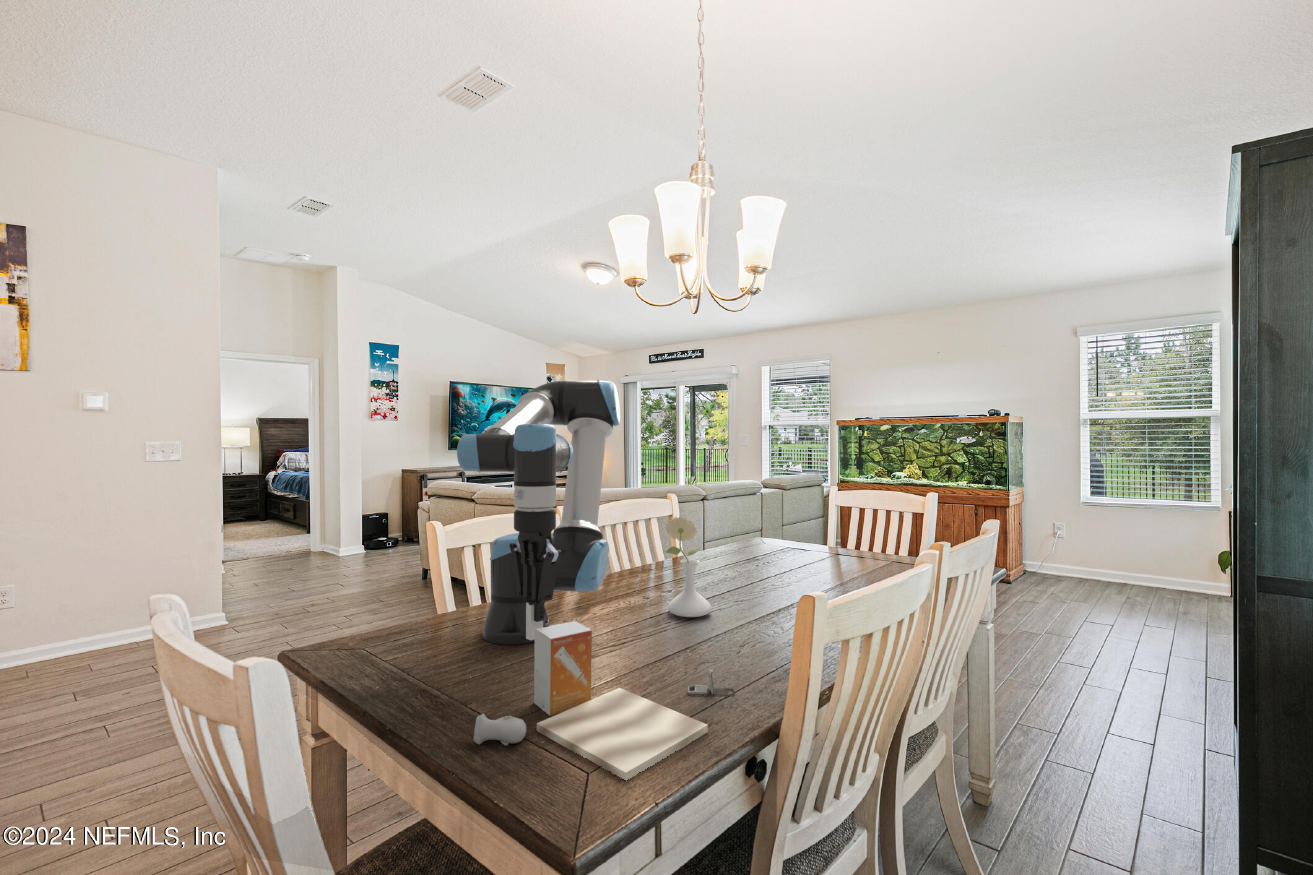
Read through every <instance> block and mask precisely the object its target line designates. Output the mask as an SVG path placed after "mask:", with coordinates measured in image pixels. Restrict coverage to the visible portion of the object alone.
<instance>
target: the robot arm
mask: <svg viewBox="0 0 1313 875" xmlns="http://www.w3.org/2000/svg"><path fill="white" fill-rule="evenodd" d="M620 406H621V404H620V400H619V393H618V389H617V386H616V384H615V383H614V382H613V381H611V380H600V379H597V380H555V381H551V382H546V383H544V384H541V385H539V386H537V387H534V388H532V389H530V390H529V391H527V392H526V393H524V394H523V395H522V396H520V398H519V399H518V401H517V402H516V406H515V407H514V408H512V409H511V410H510V411H508V413H506V414H505V415H504V416H503V417H501V418H500V419H499V420H498V421H496V422H495V423H494V424H493V425H492V426H490V427H489V428H488V429H487V430H486V431H484V432H483V433H470V434H469V433H468V434H464V435H462V436H461V437H460V439H459V440H458V444H457V448H456V457H457V458H456V459H457V463H458V464H459V467H460V468H461V469H462V470H463V471H465V472H477V473H512V472H513V480H514V481H513V485H514V493H513V496H514V497H513V499H514V500H513V506H514V507H515V510H514V512H513V529H514V530H515V531H516V533H510V534H506V535H502V536H499V537H497V538H496V539H494V540H493V541H492V543H491V547H490V549H491V550H490V557H489V560H490V603H489V606H488V609H487V613H486V616H485V620H484V622H483V626H482V637H483V639H484V641H487V642H489V643H492V644H498V645H509V646H510V645H511V646H512V645H521V644H529V643H533V642H534V643H535V629H539V628H544V627H549V626H551V625H550V623H551V622H550V620H549V616H548V613H547V611H546V608H545V603H546V602H550V601H552V600H553V597H554V591H558V592H559V591H560V592H562V591H563V592H576V593H581V592H594V591H596V590H598V589H599V588H600V587H601V586H602V584H603V581H604V579H605V576H606V573H607V569H608V564H609V552H610V548H609V547H610V546H609V542H608V541H607V540H605V539H604V538H603V537H604V533H603V532H602V531H601V530H600V529H599V527H598V523H599V512H600V503H601V492H602V482H603V472H604V461H605V452H606V442H607V441H606V440H607V438H609V437H610V436H611V435H612V434H613V431H614V430H613V429H614V427H617V426H620V423H621V407H620ZM555 426H566V428H567V431H568V432H569V433H570V434H571V442H570V440H569V439H568V438H566V436H565V437H564V436H563V435H560V434H557V432H556V431H557V429H556V427H555ZM566 468H567V474H566V481H565V491H564V497H563V506H562V514H561V521H560V524H559V525H557V511H556V510H555V508H554V507H556V506H557V473H559V472H561V471H563V470H565V469H566ZM516 508H517V509H516Z"/></svg>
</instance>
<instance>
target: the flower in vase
mask: <svg viewBox="0 0 1313 875" xmlns="http://www.w3.org/2000/svg"><path fill="white" fill-rule="evenodd" d="M665 531H666V533H667V534H668V536H669V537H670V538H672V539H673V540H677V541H678V542H679V548H678V547H676V546H671V547H669V548H668V549H667V550H666V551H665V552H666V553H668V554H672V555H675V556H676V555H679V554H680V553H682V555H683V556H684V559H681V560H680V561H679V563H680V564H681V565H682V567H683V570H684V577H685V581H684V582H685V584H684V588H683V590H682V592H680V593H679V594H678V595H677V596H675V597H674V598H673V599H672V600H670V602H669V603H668V604H667V610H668V611H669V613H671V614H673V615H674V616H678V617H681V618H682V617H683V618H699V617H703V616H706V615H708V614H709V613H711V611H712V610H713V608H712V605H711V603H710V602H709V601H708V600H707V599H706V598H704V596H702V595H701V594H700V593H699V592H697V590H696V588H695V574H696V573H695V572H696V568H697V566H698V565H699V563H700V560H698V559H695V558H687V557H689V556H693V555H695V554H696V553H698V551H699V550H700V548H701V547H697V548H695V549H691V550H690V551H689V552H688V553H687V554H685V552H684V551H683V549H682V545H681V544H682V542H686V541H690V540H693V539H695V536H696V533H697V532H698V530H697V528H696V526H695V524H694V523H693V521H692V520H688V518H686V517H683V518H682V516H679V517H677V516H675V517H673V519H670V520H668V521H667V524H666V526H665Z"/></svg>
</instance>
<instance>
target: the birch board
mask: <svg viewBox="0 0 1313 875" xmlns="http://www.w3.org/2000/svg"><path fill="white" fill-rule="evenodd" d="M536 732H538V733H539V734H542V736H545V737H546V738H548V739H550V740H552V741H554V742H555V743H557V744H559V745H560V746H562V747H564V748H566V749H568V750H569V751H571V750H572V751H571V752H573V751H574V752H573V753H575V754H576V753H577V754H576V755H578V754H580V755H581V756H580V755H579V756H580V757H582V756H583V757H582V758H584V759H585V758H587V759H589V760H591V761H592V762H594V763H596V764H598V765H599V766H602V767H604V768H605V769H607V770H608V771H611V772H613V773H614V774H616V775H617V776H619V777H621V778H622V779H624V780H628V779H629V780H631V779H633V778H634V777H637V776H638V775H639V774H640V773H639V772H641V773H643V772H644V771H646V770H647V768H648V767H649V768H651V767H652V766H654V765H656V764H658V763H660V762H661V761H663V760H665V759H666V758H667V756H668V757H669V756H671V755H673V754H675V753H676V752H678V751H680V750H681V749H683V748H685V747H686V746H688V745H689V744H691V743H693V742H694V741H696V740H698V739H699V738H701V737H703V736H705V735H706V734H707V733H709V724H706V723H704V722H702V721H700V720H698V719H695V718H692V717H690V716H688V715H685V714H683V713H680V712H678V711H676V710H673V709H671V708H668V707H666V706H664V705H661V704H659V703H657V702H655V701H652V700H650V699H647V698H644V697H643V696H640V695H638V694H636V693H633V692H631V691H628V690H626V689H623V688H621V687H617V688H616V689H613V690H610V691H608V692H606V693H604V694H601V695H598V696H596V697H595V698H591V700H590V701H587V702H585V703H583V704H580V705H578V706H576V707H573V708H571V709H569V710H566V711H564V712H561V713H557V714H554V715H552V716H550V717H548V718H545V719H544V720H541V721H539V722H537V723H536ZM692 741H693V742H692ZM675 751H676V752H675ZM670 754H671V755H670ZM587 759H586V760H587ZM662 759H663V760H662ZM589 760H588V761H589ZM591 761H590V762H591ZM592 762H591V763H592ZM657 762H658V763H657ZM594 763H593V764H594ZM655 763H656V764H655ZM596 764H595V765H596ZM598 765H597V766H598ZM599 766H598V767H599ZM650 766H651V767H650ZM649 768H648V769H649ZM605 769H604V770H605ZM645 769H646V770H645ZM607 770H606V771H607ZM608 771H607V772H608ZM642 771H643V772H642ZM638 773H639V774H638ZM614 774H613V775H614ZM637 774H638V775H637ZM617 776H616V777H617ZM633 776H634V777H633ZM619 777H618V778H619ZM632 777H633V778H632ZM621 778H620V779H621ZM630 778H631V779H630ZM622 779H621V780H622ZM624 780H623V781H624ZM629 780H628V781H629Z"/></svg>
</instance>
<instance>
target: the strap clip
mask: <svg viewBox="0 0 1313 875" xmlns="http://www.w3.org/2000/svg"><path fill="white" fill-rule="evenodd" d="M712 673H714V669H711V668H709V670H708V676H709V686H708V685H706V684H705V685H702V684H691V685H688V686H687V695H688V696H694V695H695V696H696V697H697V696H702V695H704V696H707V697H708V695H710V694H711V695H713V696H716V697H728V696H729V697H735V695H736V692H735V689H734V688H728V687H722V688H720V687H717V688H716V687H714V681H713V675H712ZM709 687H710V689H709ZM709 690H710V691H709ZM728 691H731V692H732V694H729V692H728ZM710 692H711V693H710ZM695 696H694V697H695Z"/></svg>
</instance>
